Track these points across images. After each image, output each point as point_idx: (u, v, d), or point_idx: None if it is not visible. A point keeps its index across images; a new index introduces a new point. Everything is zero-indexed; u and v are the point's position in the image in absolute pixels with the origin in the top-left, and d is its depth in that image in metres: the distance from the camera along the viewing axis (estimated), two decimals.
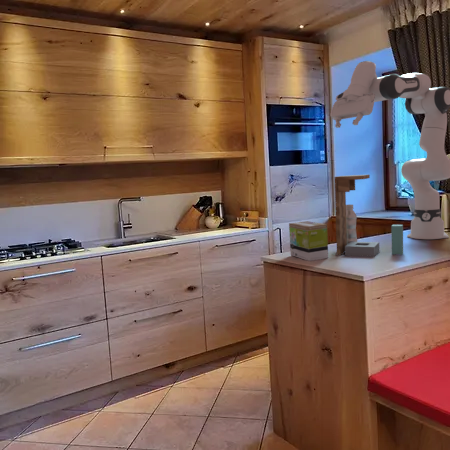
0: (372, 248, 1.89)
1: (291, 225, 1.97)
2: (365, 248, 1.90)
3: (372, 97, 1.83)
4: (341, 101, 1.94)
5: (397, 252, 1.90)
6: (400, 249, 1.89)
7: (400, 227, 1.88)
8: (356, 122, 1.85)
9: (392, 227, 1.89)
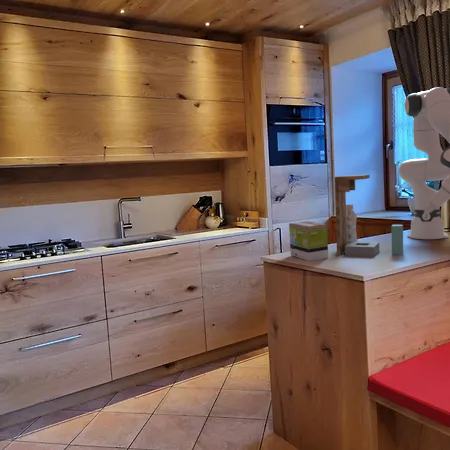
0: (372, 248, 1.89)
1: (291, 225, 1.97)
2: (365, 248, 1.90)
3: None
4: None
5: (397, 252, 1.90)
6: (400, 249, 1.89)
7: (400, 227, 1.88)
8: None
9: (392, 227, 1.89)
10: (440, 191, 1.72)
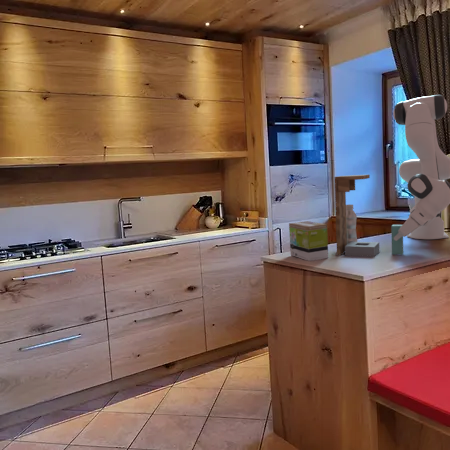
0: (372, 248, 1.89)
1: (291, 225, 1.97)
2: (365, 248, 1.90)
3: None
4: None
5: (397, 252, 1.90)
6: (400, 249, 1.89)
7: None
8: None
9: (392, 227, 1.89)
10: (408, 221, 1.79)
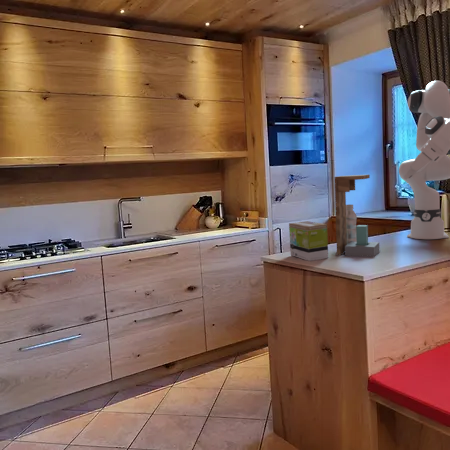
0: (372, 248, 1.89)
1: (291, 225, 1.97)
2: (365, 248, 1.90)
3: None
4: None
5: None
6: None
7: (364, 227, 1.93)
8: None
9: (357, 227, 1.95)
10: (420, 156, 1.78)
